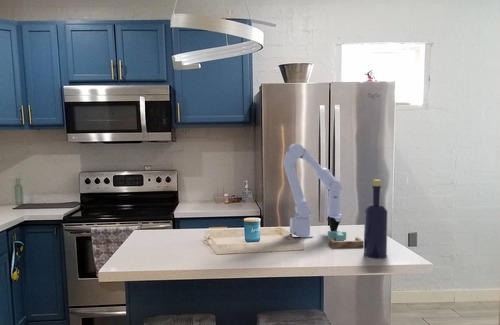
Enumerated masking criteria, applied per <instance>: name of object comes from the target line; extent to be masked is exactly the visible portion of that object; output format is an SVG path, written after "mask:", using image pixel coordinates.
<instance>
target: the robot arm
mask: <svg viewBox="0 0 500 325" xmlns="http://www.w3.org/2000/svg"><path fill="white" fill-rule="evenodd" d="M284 155H285V156H284V158H283V162H282V164H283V168H284V171H285V175H286V177H287V180H288V183H289V186H290V187H289V188H290V190H291V193H292V196H293V201H294V211H295V213H296V214H295V215H294V216H293V217H290V219H289V234H290V233H292V234H294V235H296V236H298V237H301V238H313V235H312V234H311V213H312V209H311V207H310V206H309V205H308V203H307V200H306V198H305V196H304V193H303V190H302V187H301V186H302V185H301V183H300V180H299V177H298V174H297V171H296V170H297V169H296V167H295V165H296V163H297V161H298V160H299V159H302V160H305V161H306V162H307V163H308V164H309V166H310V167H312V168H313V169H314V170H315V172H316V177H317V179H319V180H320V181H321V182H322V183H323V185H324V186H326V189H327V190H328V192H327V194H328V195H327V212H326V213H327V214H326V215H327V218H326V219H327V220H326V221H327V223H328V225H329V230H330V231H338V227H339V226H340V223H341V222H342V217H343V214H342V213H341V191H342V189H343V186H342V184H341V182H340V181H338V180H337V177H336V176H334V175H333V174H332V173H331V170H330V169H329V168H327V167H322V166H321V165H320V164H319V162H318V161H317V160H316V158H315V157H314V156H313V155H312V154H311V153H310V152H309V150H307V149H306V148H304V146H303V145H301V144H299V143H292V144H290V145H289V146H288V148H287V149H286V151H285V154H284Z"/></svg>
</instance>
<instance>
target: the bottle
mask: <svg viewBox="0 0 500 325" xmlns="http://www.w3.org/2000/svg"><path fill="white" fill-rule="evenodd" d="M381 181H382V180H381V179H373V180H372V187H371V188H372V204H369V205H368V206H367V207H366V208H365V210H364V226H363V228H364V230H363V233H364V236H363V237H364V238H363V241H364V245H363V255H364V256H365V255H366V257H367V256H368V257H367V258H371V259H378V258H379V259H386V258H387V257H388V224H389V223H388V219H389V216H388V212H389V211H388V209H387V208H386V206H385V205H381V204H380V203H381V189H382V186H381Z"/></svg>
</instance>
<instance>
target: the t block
mask: <svg viewBox="0 0 500 325" xmlns="http://www.w3.org/2000/svg"><path fill="white" fill-rule="evenodd" d="M329 238H332V239H333V240H335V241H345V239H346V240H347V232H346V231H345V230H337V231H331V230H330V231H327V239H329Z"/></svg>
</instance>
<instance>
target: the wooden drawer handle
mask: <svg viewBox="0 0 500 325" xmlns="http://www.w3.org/2000/svg"><path fill="white" fill-rule="evenodd" d="M328 244H329V246H331V248H333V249H340V248H341V249H342V248H344V249H345V248H346V249H347V248H364V240H363V239H361V238H359V237H355V240H344V241H337V240H335V239H332V238H328Z"/></svg>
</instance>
